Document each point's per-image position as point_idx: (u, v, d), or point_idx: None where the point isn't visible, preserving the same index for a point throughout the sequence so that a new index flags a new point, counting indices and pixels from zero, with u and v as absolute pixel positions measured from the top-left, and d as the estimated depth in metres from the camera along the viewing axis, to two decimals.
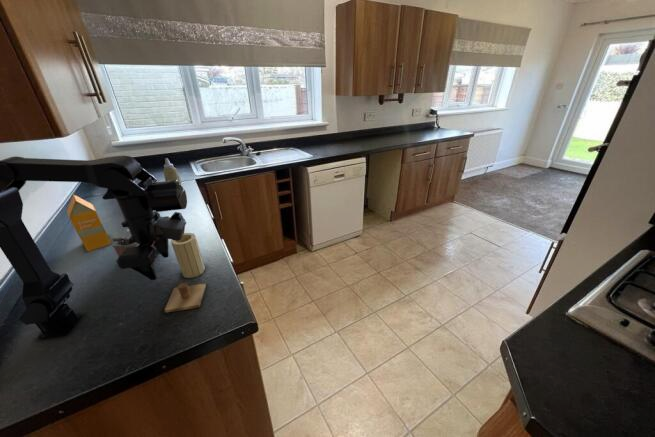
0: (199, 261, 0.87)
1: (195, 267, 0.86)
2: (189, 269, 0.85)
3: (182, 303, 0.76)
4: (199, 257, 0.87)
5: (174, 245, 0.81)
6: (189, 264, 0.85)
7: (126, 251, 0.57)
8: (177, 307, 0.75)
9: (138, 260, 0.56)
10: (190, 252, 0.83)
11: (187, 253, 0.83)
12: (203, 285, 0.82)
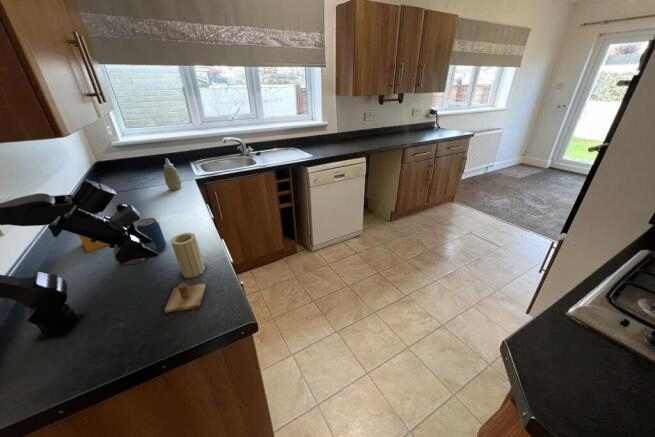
0: (199, 261, 0.87)
1: (195, 267, 0.86)
2: (189, 269, 0.85)
3: (182, 303, 0.76)
4: (199, 257, 0.87)
5: (174, 245, 0.81)
6: (189, 264, 0.85)
7: (115, 251, 0.66)
8: (177, 307, 0.75)
9: (128, 247, 0.66)
10: (190, 252, 0.83)
11: (187, 253, 0.83)
12: (203, 285, 0.82)
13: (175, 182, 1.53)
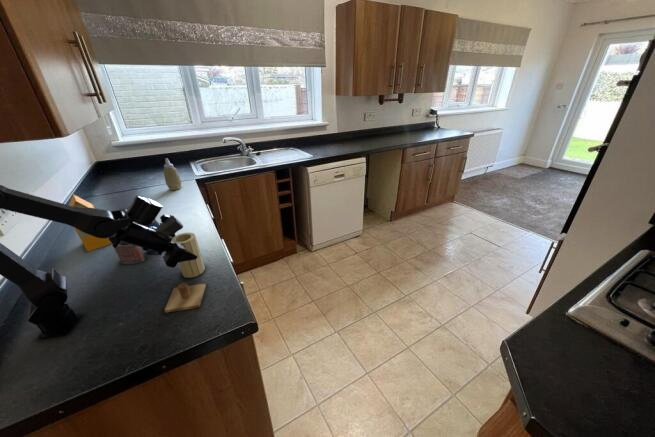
0: (199, 261, 0.87)
1: (195, 267, 0.86)
2: (189, 269, 0.85)
3: (182, 303, 0.76)
4: (199, 257, 0.87)
5: None
6: (189, 264, 0.85)
7: (165, 257, 0.75)
8: (177, 307, 0.75)
9: (177, 253, 0.75)
10: (190, 251, 0.83)
11: None
12: (203, 285, 0.82)
13: (175, 182, 1.53)
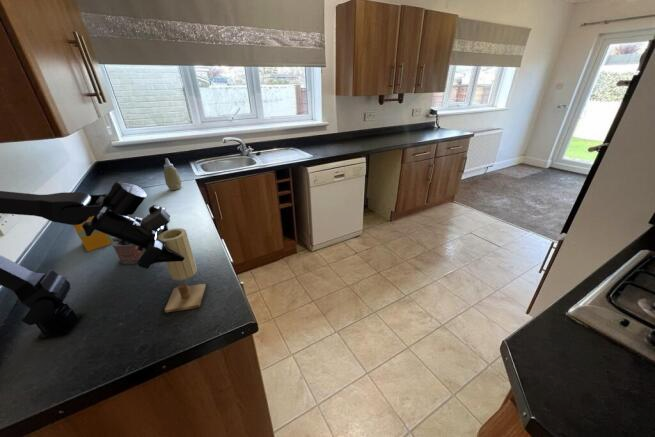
0: (187, 263, 0.75)
1: (181, 269, 0.74)
2: (174, 270, 0.74)
3: (182, 303, 0.76)
4: (188, 258, 0.75)
5: None
6: (174, 265, 0.73)
7: (139, 255, 0.65)
8: (177, 307, 0.75)
9: (150, 253, 0.63)
10: (175, 251, 0.72)
11: None
12: (203, 285, 0.82)
13: (175, 182, 1.53)
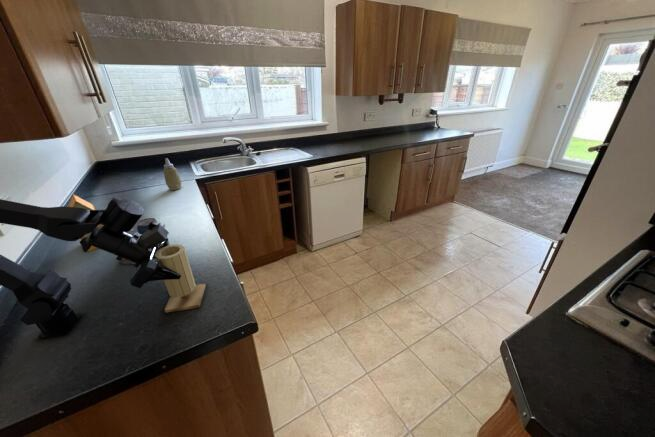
0: (185, 281, 0.73)
1: (178, 287, 0.73)
2: (171, 288, 0.72)
3: (182, 303, 0.76)
4: (185, 276, 0.73)
5: (156, 258, 0.69)
6: (171, 282, 0.72)
7: (133, 274, 0.63)
8: (177, 307, 0.75)
9: (142, 273, 0.62)
10: (172, 269, 0.70)
11: None
12: (203, 285, 0.82)
13: (175, 182, 1.53)
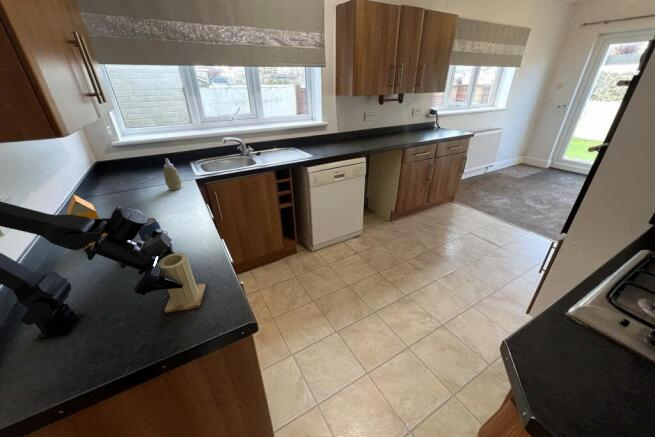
0: (187, 289, 0.74)
1: (181, 295, 0.74)
2: (175, 296, 0.74)
3: None
4: (188, 284, 0.74)
5: (159, 267, 0.70)
6: (174, 291, 0.73)
7: (137, 282, 0.64)
8: (177, 307, 0.75)
9: (146, 281, 0.63)
10: (175, 278, 0.71)
11: None
12: (203, 285, 0.82)
13: (175, 182, 1.53)
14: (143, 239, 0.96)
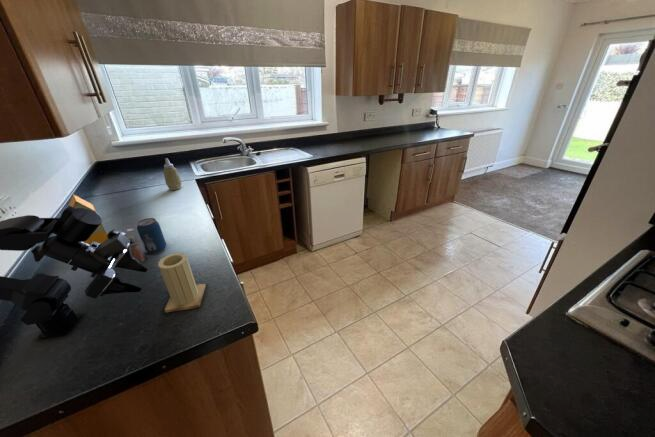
0: (187, 289, 0.74)
1: (181, 295, 0.74)
2: (175, 296, 0.74)
3: None
4: (188, 284, 0.74)
5: (159, 267, 0.70)
6: (174, 291, 0.73)
7: (88, 284, 0.61)
8: (177, 307, 0.75)
9: (99, 283, 0.60)
10: (175, 278, 0.71)
11: (171, 279, 0.71)
12: (203, 285, 0.82)
13: (175, 182, 1.53)
14: (143, 239, 0.96)
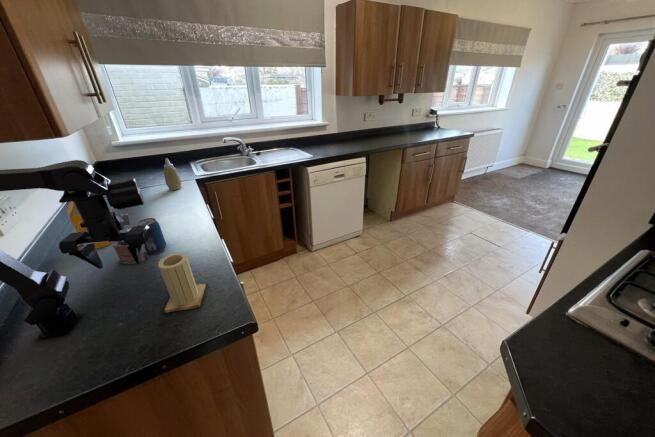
0: (187, 289, 0.74)
1: (181, 295, 0.74)
2: (175, 296, 0.74)
3: None
4: (188, 284, 0.74)
5: (159, 267, 0.70)
6: (174, 291, 0.73)
7: (133, 233, 0.67)
8: (177, 307, 0.75)
9: (149, 230, 0.71)
10: (175, 278, 0.71)
11: (171, 279, 0.71)
12: (203, 285, 0.82)
13: (175, 182, 1.53)
14: None
